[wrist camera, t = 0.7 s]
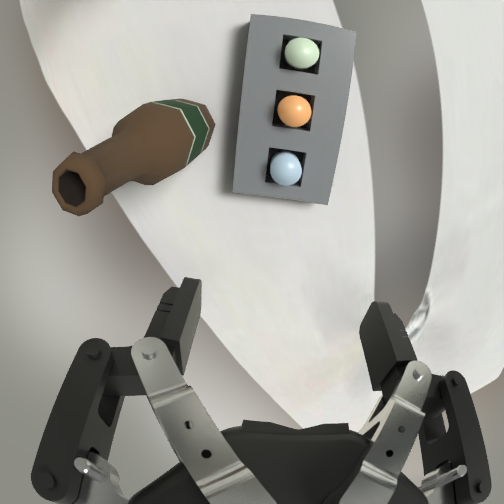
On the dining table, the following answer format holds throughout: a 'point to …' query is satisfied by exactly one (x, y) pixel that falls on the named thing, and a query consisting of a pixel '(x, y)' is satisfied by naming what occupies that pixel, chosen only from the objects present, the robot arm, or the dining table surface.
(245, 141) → the button panel
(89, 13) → the dining table surface
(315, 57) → the sage button
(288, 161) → the blue button
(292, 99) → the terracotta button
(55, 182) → the beer bottle
